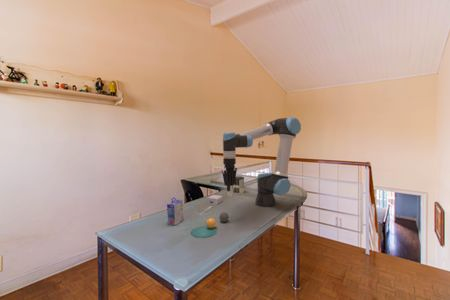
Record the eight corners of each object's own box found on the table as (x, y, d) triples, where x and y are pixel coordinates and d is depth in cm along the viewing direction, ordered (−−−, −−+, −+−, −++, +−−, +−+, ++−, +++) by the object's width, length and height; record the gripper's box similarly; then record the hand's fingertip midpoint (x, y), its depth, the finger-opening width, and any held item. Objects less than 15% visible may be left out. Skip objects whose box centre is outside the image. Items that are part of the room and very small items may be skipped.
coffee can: (233, 194, 193) (233, 178, 192) (232, 191, 203) (232, 176, 202) (245, 194, 194) (245, 178, 193) (243, 191, 204) (243, 176, 203)
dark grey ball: (220, 212, 129) (219, 222, 128) (229, 213, 129) (228, 223, 128) (219, 211, 134) (218, 220, 134) (228, 212, 134) (227, 221, 134)
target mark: (216, 225, 125) (216, 225, 125) (217, 236, 112) (217, 236, 111) (191, 227, 124) (191, 226, 124) (189, 238, 110) (189, 238, 110)
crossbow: (208, 218, 141) (208, 215, 141) (191, 215, 146) (191, 212, 146) (219, 209, 156) (218, 206, 155) (203, 206, 161) (203, 204, 161)
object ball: (210, 215, 122) (205, 223, 119) (218, 220, 121) (213, 229, 118) (208, 217, 126) (203, 225, 123) (216, 223, 126) (211, 231, 123)
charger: (225, 199, 178) (217, 205, 164) (215, 198, 182) (206, 203, 168) (225, 194, 178) (217, 198, 164) (215, 192, 182) (206, 197, 168)
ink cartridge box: (176, 218, 138) (175, 195, 137) (184, 219, 136) (183, 196, 135) (167, 224, 129) (166, 200, 128) (175, 225, 127) (174, 200, 126)
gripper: (231, 156, 141) (231, 192, 142) (217, 158, 131) (218, 197, 132) (240, 157, 136) (241, 194, 137) (227, 159, 126) (228, 199, 127)
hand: (229, 196), depth 135 cm, fingers closed
